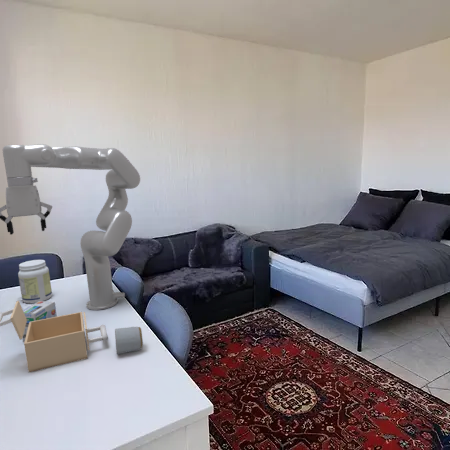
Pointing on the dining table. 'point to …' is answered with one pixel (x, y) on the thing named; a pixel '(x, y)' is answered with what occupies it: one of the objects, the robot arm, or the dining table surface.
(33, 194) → the robot arm
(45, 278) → the supplement tub
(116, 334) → the ceramic mug
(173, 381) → the dining table surface
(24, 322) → the flap
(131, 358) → the dining table surface
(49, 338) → the carton
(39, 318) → the light bulb box
